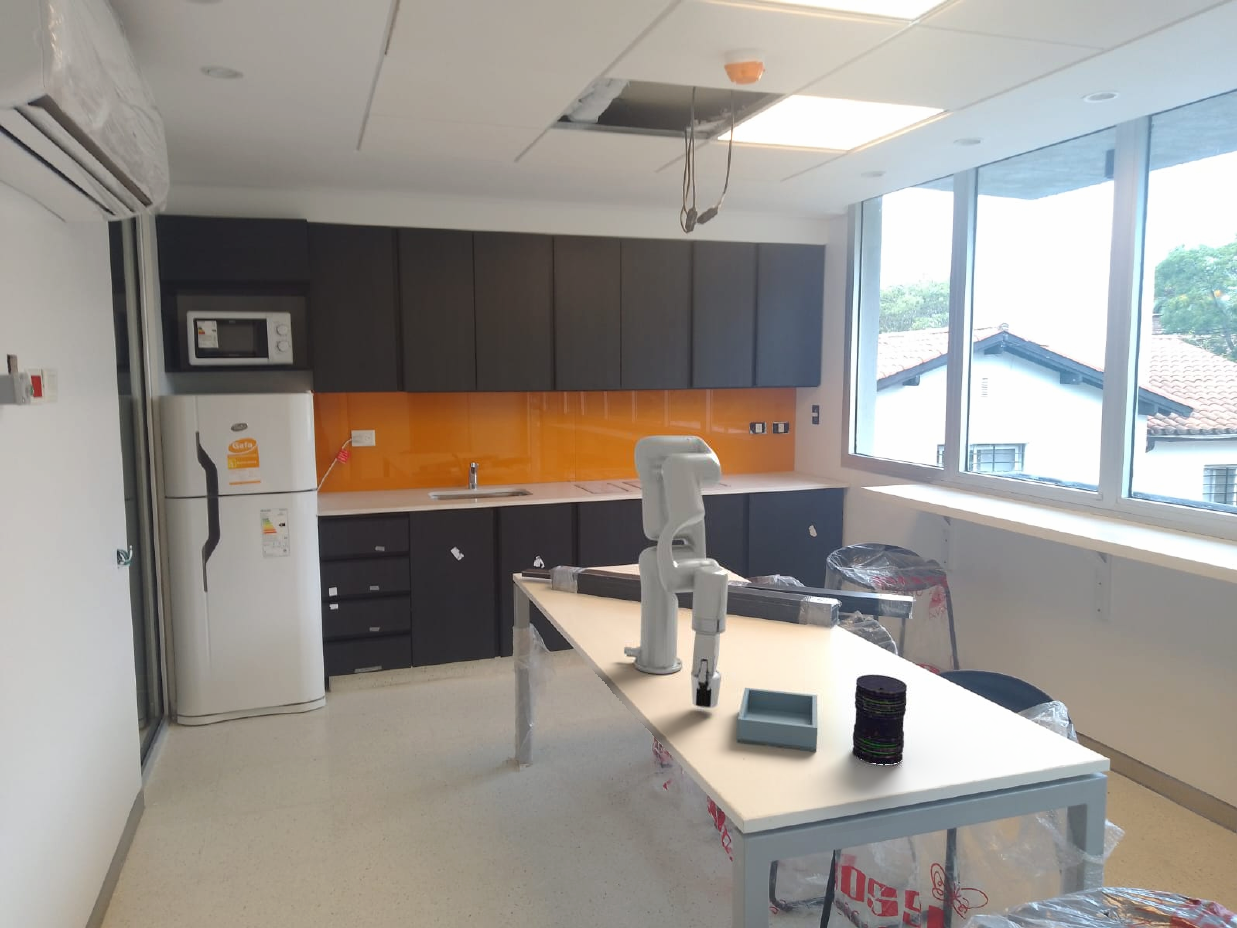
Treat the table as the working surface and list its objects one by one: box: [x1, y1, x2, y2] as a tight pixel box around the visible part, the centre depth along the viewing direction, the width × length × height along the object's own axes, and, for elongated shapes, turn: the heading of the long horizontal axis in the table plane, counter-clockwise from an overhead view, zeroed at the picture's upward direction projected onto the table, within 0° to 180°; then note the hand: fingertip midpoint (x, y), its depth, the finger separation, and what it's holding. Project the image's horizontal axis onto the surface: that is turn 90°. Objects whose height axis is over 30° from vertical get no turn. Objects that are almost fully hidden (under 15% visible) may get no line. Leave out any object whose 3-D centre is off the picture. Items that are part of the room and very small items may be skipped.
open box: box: [736, 687, 818, 752], centre depth 179 cm, size 16×18×5 cm
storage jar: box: [852, 674, 908, 765], centre depth 167 cm, size 10×10×15 cm
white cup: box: [690, 669, 722, 709], centre depth 187 cm, size 7×7×7 cm
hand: (705, 699), depth 187 cm, fingers closed on white cup, 5 cm apart
